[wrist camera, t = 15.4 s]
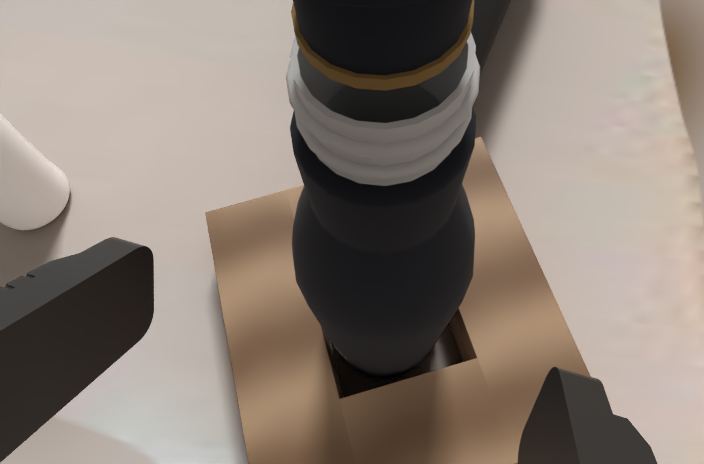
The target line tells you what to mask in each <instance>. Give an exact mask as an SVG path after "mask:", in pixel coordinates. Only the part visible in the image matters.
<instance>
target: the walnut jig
mask: <svg viewBox="0 0 704 464" xmlns="http://www.w3.org/2000/svg"><path fill="white" fill-rule="evenodd" d="M462 185H463V187H464V190H465V192H466V195H467V198H468V201H469V205H470V208H471V212H472V215H473V218H474V226H475V249H474V268H473V277H472V280H471V282H470V285H469V287H468V289H467V292H466V294H465V297H464V299H463V301H462V303H461V305H460V306H459V308H458V309H457V311H456V312H455V314H454V315H453V317H452V318H451V320H450V321H449V323H450V326H451V328H452V331H453V334H454V337H455V339H456V342H457V345H458V348H459V350H460V353H461V356H462V359H463V362H462V363H459V364H455V365H452V366H449V367H445V368H442V369H439V370H435V371H432V372H428V373H425V374H422V375H418V376H415V377H412V378H408V379H405V380H402V381H398V382H395V383H392V384H388V385H385V386H382V387H378V388H375V389H371V390H368V391H365V392H361V393H358V394H355V395H351V396H348V397H345V398H344V396H343V393H342V389H341V385H340V381H339V377H338V373H337V369H336V365H335V361H334V357H333V354H332V350H331V346H330V342H329V338H328V336H327V334H326V333H325V331H324V330H323V328H322V326H321V325H320V323H319V322H318V320H317V319H316V317H315V316H314V314H313V313H312V311H311V309H310V308H309V306H308V304H307V302H306V300H305V298H304V296H303V294H302V292H301V290H300V288H299V286H298V284H297V282H296V277H295V269H294V262H293V253H292V232H293V224H294V219H295V214H296V209H297V204H298V200H299V198H300V195H301V192H302V190H303V187H304V186H300V187H296V188H293V189H289V190H286V191H282V192H278V193H275V194H271V195H267V196H264V197H260V198H257V199H253V200H249V201H246V202H242V203H238V204H235V205H231V206H227V207H224V208H220V209H217V210H213V211H209V212H206V213H205V214H206V220H207V225H208V231H209V237H210V243H211V248H212V254H213V260H214V266H215V271H216V277H217V283H218V289H219V294H220V300H221V306H222V312H223V318H224V323H225V329H226V335H227V341H228V346H229V352H230V358H231V364H232V369H233V375H234V381H235V387H236V393H237V398H238V404H239V410H240V416H241V421H242V427H243V433H244V439H245V444H246V450H247V456H248V462H249V464H514V463H518V451H519V444H520V440H521V436H522V432H523V429H524V427H525V425H526V422H527V420H528V418H529V415H530V413H531V411H532V408H533V406H534V404H535V401H536V399H537V397H538V395H539V392H540V390H541V388H542V385H543V383H544V381H545V378H546V376H547V374H548V372H549V371H550V370H551V369H552V368H553V367H558V368H561V369H565V370H568V371H572V372H575V373H578V374H582V375H585V376H589V377H591V376H590V374H589V372H588V370H587V368H586V365H585V363H584V361H583V359H582V357H581V354H580V352H579V350H578V348H577V346H576V344H575V341H574V339H573V337H572V335H571V333H570V330H569V328H568V326H567V324H566V322H565V319H564V317H563V315H562V313H561V311H560V309H559V306H558V304H557V302H556V300H555V298H554V295H553V293H552V291H551V289H550V287H549V284H548V282H547V280H546V278H545V276H544V274H543V271H542V269H541V267H540V265H539V263H538V260H537V258H536V256H535V254H534V252H533V249H532V247H531V245H530V243H529V241H528V239H527V236H526V234H525V232H524V230H523V228H522V225H521V223H520V221H519V219H518V217H517V214H516V212H515V210H514V208H513V206H512V204H511V201H510V199H509V197H508V195H507V193H506V190H505V188H504V186H503V184H502V182H501V179H500V177H499V175H498V173H497V171H496V169H495V166H494V164H493V162H492V160H491V158H490V155H489V153H488V151H487V149H486V147H485V144H484V142H483V140H482V138H481V137H478V138H475V146H474V149H473V152H472V155H471V158H470V161H469V164H468V167H467V170H466V173H465V176H464V179H463V182H462Z"/></svg>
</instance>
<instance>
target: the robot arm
mask: <svg viewBox="0 0 704 464" xmlns="http://www.w3.org/2000/svg"><path fill="white" fill-rule="evenodd" d="M153 313H154V266H153V254H152V251H151V250H150V249H149V248H148V247H146V246H142V245H139V244H136V243H132V242H129V241H125V240H122V239H118V238H115V237H111V238H108V239H105V240H104V241H102V242H100V243H98V244H96V245H94V246H92V247H90V248H88V249H87V250H85V251H83V252H81V253H79V254H75V255H71V256H68V257H64V258H60V259H57V260H53V261H50V262H48V263H47V264H45V265H43V266H41V267H39V268H37V269H35V270H33V271H31V272H29V273H27V276H26V277H23V276H21V277H19V278H17V279H15V280H13V281H11V282H10V283H8V284H6V287H5V288H3V287H0V462H1V461H3V460H4V459H5V458H6V457H7V456H8V455H9V454H11V453H12V452H13V451H14V450H15V449H16V448H17V447H18V446H19V445H21V444H22V443H23V442H24V441H25V440H27V439H28V438H29V437H30V436H31V435H32V434H33V433H34V432H36V431H37V430H38V429H39V428H40V427H41V426H42V425H43V424H45V423H46V422H47V421H48V420H49V419H50V418H52V417H53V416H54V415H55V414H56V413H57V412H58V411H60V410H61V409H62V408H63V407H64V406H65V405H66V404H68V403H69V402H70V401H71V400H72V399H73V398H74V397H76V396H77V395H78V394H79V393H80V392H81V391H82V390H84V389H85V388H86V387H87V386H88V385H89V384H90V383H92V382H93V381H94V380H95V379H96V378H97V377H98V376H100V375H101V374H102V373H103V372H104V371H105V370H106V369H108V368H109V367H110V366H111V365H112V364H113V363H114V362H116V361H117V360H118V359H119V358H120V357H121V356H122V355H124V354H125V353H126V352H127V351H128V350H129V349H130V348H132V347H133V346H134V345H135V344H136V343H137V342H138V341H140V340H141V339H142V337H143V336H144V335H145V333H146V332H147V330H148V328H149V326H150V324H151V321H152V318H153ZM518 464H657V462H656V459H655V457H654V454H653V452H652V449H651V447H650V446H649V444H648V443H647V442H646V441H645V440H644V438H643V437H642V436H641V435H640V433H639V432H638V431H637V430H636V428H635V427H634V426H633V425H632V424H631V422H630V421H629V420H628V419H627V418H623V417H620V416H617V415H613V413H612V410H611V407H610V404H609V401H608V398H607V396H606V393H605V390H604V387H603V384H602V382H601V381H600V380H599V379H596V378H592V377H589V376H585V375H582V374H578V373H575V372H572V371H568V370H565V369H561V368H558V367H553V368H552V369H551V370H550V371H549V372H548V374H547V376H546V378H545V381H544V383H543V385H542V388H541V390H540V392H539V395H538V397H537V399H536V401H535V404H534V406H533V408H532V411H531V413H530V415H529V418H528V420H527V422H526V425H525V427H524V429H523V432H522V436H521V440H520V444H519V451H518Z"/></svg>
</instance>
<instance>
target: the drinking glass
mask: <svg viewBox="0 0 704 464" xmlns="http://www.w3.org/2000/svg"><path fill="white" fill-rule="evenodd" d="M69 195H70V185H69V182H68V179H67V177H66V175H65V174H64V173H63V172H62V171H61V170H60V169H59V168H58V167H57V166H55V165H54V164H53V163H52V162H50V161H49V160H48V159H47V158H46V157H45V156H44V155H42V154H41V153H40V152H39V151H38V150H37V149H36V148H35V147H34V146H33V145H32V144H31V143H30V142H29V141H28V140H27V139H26V138H25V137H24V136H23V135H22V134H21V133H20V132H19V131H18V130H17V129H16V128H15V127H14V126H12V125H11V124H10V123H9V122H8V121H7V120H6V119H5V118H4V117H3V116H2V115H1V114H0V223H2V224H4V225H6V226H8V227H10V228H13V229H17V230H32V229H36V228H40V227H42V226H44V225H46V224H48V223H50V222H51V221H53V220H54V219H55V218H56V217H57V216H58V215H59V214H60V213H61V212H62V211H63V209H64V208H65V206H66V204H67V202H68V199H69Z"/></svg>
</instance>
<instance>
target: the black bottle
mask: <svg viewBox="0 0 704 464" xmlns="http://www.w3.org/2000/svg"><path fill="white" fill-rule="evenodd" d="M293 2H294V3H293V7H292V11H291V13H292V19H293V25H294V31H295V38H294V42H293V46H292V50H291V54H290V64H289V68H288V72H287V76H286V80H287V87H288V93H289V100H290V104H291V106H292V107H293V109H294V112H293V117H292V121H291V126H290V131H291V137H292V144H293V151H294V155H295V158H296V161H297V165H298V168H299V171H300V174H301V177H302V180H303V183H304V187H303V190H302V192H301V195H300V198H299V200H298V204H297V209H296V214H295V219H294V224H293V232H292V253H293V262H294V269H295V277H296V282H297V284H298V286H299V288H300V290H301V292H302V294H303V296H304V298H305V300H306V302H307V304H308V306H309V308H310V309H311V311H312V313H313V314H314V316H315V317H316V319H317V320H318V322H319V323H320V325H321V326H322V328H323V330H324V331H325V333H326V334H327V336H328V337H329V339H330V340H331V342H332V344H333V345H334V347H335V348H336V350H337V351H338V353H339V354H340V356H341V358H342V359H343V360H344V361H345V362H346V363H347V364H348V365H349V366H350V367H351V368H352V369H353V370H355V371H357V372H359V373H361V374H362V375H364V376H366V377H368V378H375V379H382V380H387V379H392V378H398V377H402V376H404V375H405V374H407V373H409V372H411V371H412V370H414V369H416V368H417V367H418V365H419V364H420V363H421V362H422V361H423V360H424V359H425V358H426V356H427V355H428V353H429V352H430V350H431V349H432V347H433V346H434V344H435V343H436V341H437V340H438V338H439V337H440V335H441V334H442V332H443V331H444V329H445V328H446V326H447V325H448V323H449V321H450V320H451V318H452V317H453V315H454V314H455V312H456V311H457V309H458V308H459V306H460V305H461V303H462V301H463V299H464V297H465V294H466V292H467V289H468V287H469V285H470V282H471V280H472V277H473V268H474V249H475V226H474V218H473V215H472V212H471V208H470V205H469V201H468V198H467V195H466V192H465V190H464V187H463V185H462V182H463V179H464V176H465V173H466V170H467V167H468V164H469V161H470V158H471V155H472V152H473V149H474V146H475V130H476V116H475V113H474V110H473V107H472V106H473V104H474V102H475V100H476V98H477V96H478V94H479V76H480V66H479V63H478V60H477V57H476V54H475V52H476V45H475V42H474V39H473V36H472V33H471V29H472V24H473V13H474V0H293Z"/></svg>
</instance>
